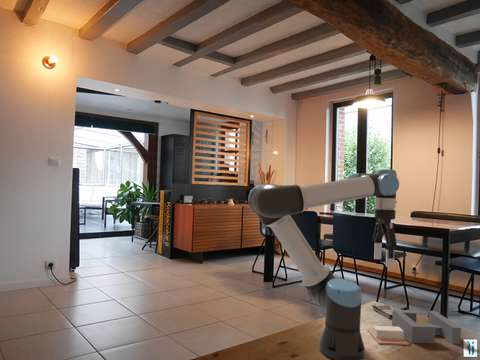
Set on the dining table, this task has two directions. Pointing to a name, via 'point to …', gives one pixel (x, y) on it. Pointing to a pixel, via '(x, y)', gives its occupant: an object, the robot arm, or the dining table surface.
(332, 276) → the robot arm
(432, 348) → the dining table surface
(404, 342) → the terracotta mat
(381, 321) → the dining table surface
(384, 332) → the cream bar
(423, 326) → the pocket plate
